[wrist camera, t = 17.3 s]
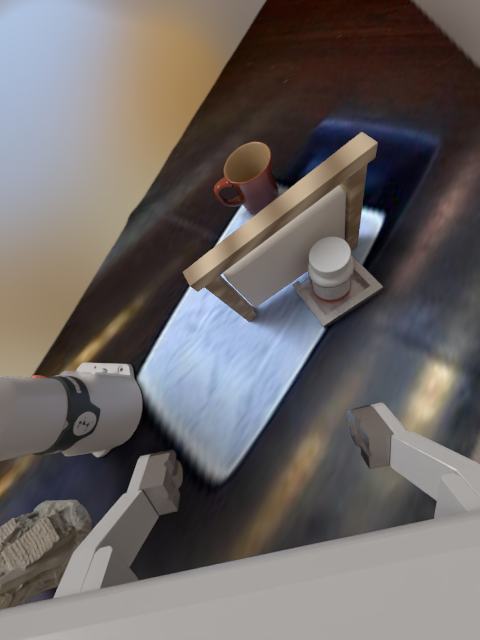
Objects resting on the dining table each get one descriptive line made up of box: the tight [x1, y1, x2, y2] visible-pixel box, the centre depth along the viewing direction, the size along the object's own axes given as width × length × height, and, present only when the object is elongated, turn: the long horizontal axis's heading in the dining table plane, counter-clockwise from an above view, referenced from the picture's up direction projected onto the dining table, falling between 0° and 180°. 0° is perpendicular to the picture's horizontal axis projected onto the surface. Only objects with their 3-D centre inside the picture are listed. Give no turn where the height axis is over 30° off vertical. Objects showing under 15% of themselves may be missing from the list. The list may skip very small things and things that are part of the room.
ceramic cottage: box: [0, 500, 92, 609], centre depth 43 cm, size 16×16×15 cm
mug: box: [214, 142, 278, 215], centre depth 48 cm, size 12×9×10 cm
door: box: [223, 185, 346, 308], centre depth 37 cm, size 18×3×12 cm, turn 120°
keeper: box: [293, 256, 383, 329], centre depth 41 cm, size 10×9×2 cm
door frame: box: [183, 132, 378, 322], centre depth 36 cm, size 25×2×19 cm, turn 120°
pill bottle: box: [308, 237, 354, 303], centre depth 37 cm, size 6×6×11 cm
